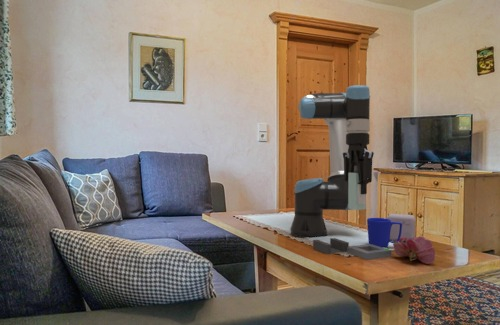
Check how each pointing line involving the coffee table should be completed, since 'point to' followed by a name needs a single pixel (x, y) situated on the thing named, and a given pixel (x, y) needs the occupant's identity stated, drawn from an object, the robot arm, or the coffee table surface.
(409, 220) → the electronic device
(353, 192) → the plug
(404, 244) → the flower
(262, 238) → the coffee table surface
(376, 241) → the mug
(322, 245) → the holster
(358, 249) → the port
